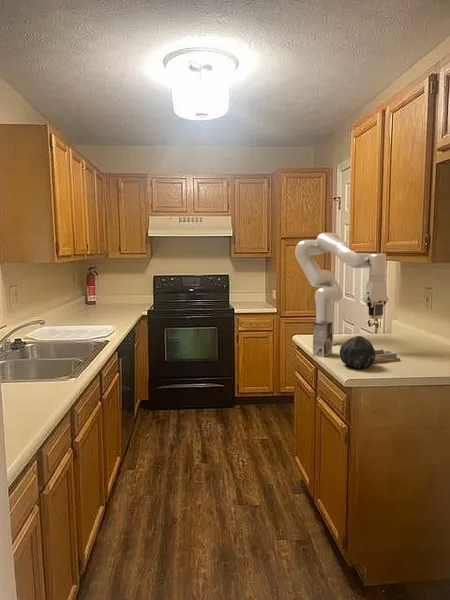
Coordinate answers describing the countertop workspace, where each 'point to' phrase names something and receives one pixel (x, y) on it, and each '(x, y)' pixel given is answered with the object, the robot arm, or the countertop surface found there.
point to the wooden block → (377, 311)
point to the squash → (357, 352)
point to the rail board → (385, 356)
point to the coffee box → (322, 338)
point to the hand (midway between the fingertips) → (375, 314)
